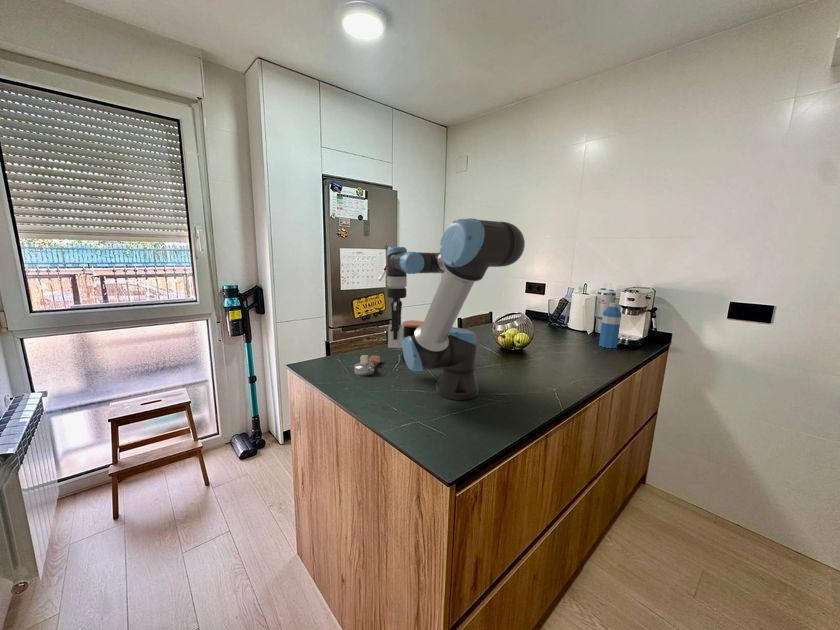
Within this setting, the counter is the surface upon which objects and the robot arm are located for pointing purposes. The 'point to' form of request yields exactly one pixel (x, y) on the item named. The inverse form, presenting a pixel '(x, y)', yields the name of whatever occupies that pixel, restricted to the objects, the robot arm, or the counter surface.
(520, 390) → the counter surface
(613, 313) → the water bottle
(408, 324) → the coffee jar
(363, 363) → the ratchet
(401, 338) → the silver metal block
